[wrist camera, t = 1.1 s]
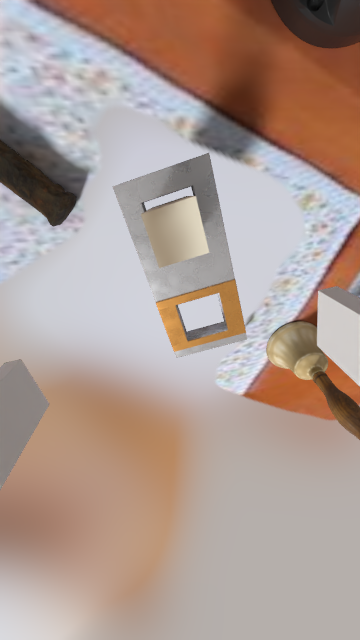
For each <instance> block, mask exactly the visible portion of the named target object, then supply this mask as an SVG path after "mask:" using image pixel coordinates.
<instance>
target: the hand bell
mask: <svg viewBox="0 0 360 640" xmlns="http://www.w3.org/2000/svg"><path fill="white" fill-rule="evenodd" d="M266 352H267V356H268V358H269V360H270V361H271V362H272V363H273V364H274V365H276V366H278V367H281V368H286V369H290V370H292V371H293V372H294V373H295V375H296V376H297V377H299V378H301V379H305V380H311V379H313V381H314V382H315V383H316V384H317V386H318V387H319V388H320V389H321V390H322V392H323V393H324V395H325V397H326V399H327V403H328V405H329V407H330V409H331V411H332V413H333V415H334V416H335V418H336V419H337V420H338V421H339V423H340V424H341V425H342V426H343V427H344V428H345V429H346V430H348V431H349V432H350V433H352V434H353V435H355V436H356V437H357V438H358V439H359V440H360V407H359V406H358V405H357V403H356V402H355V401H353V400H352V399H351V398H350V397H349V396H348V395H346V394H345V393H343V392H342V391H340V390H339V389H338V388H337V387H336V386H335V385H334V384H333V383H332V381H331V380H330V379H329V377H328V376H327V374H326V373H325V371H326V369H327V366H328V360H327V358H326V356H325V355H324V353H323V352H322V350H321V349H320V348H319V347H318V346H317V327H316V326H315V325H313V324H311V323H308V322H303V321H299V322H293V323H289V324H286V325H284V326H282V327H281V328H279V329H278V330H277V331H276V332H275V333H274V334H273V335H272V336H271V337H270V339H269V341H268V344H267V348H266Z"/></svg>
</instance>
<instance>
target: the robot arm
mask: <svg viewBox="0 0 360 640" xmlns="http://www.w3.org/2000/svg"><path fill="white" fill-rule="evenodd" d="M271 1H272V3H273V6H274V8H275V10H276V11H277V13H278V15H279V17H280V18H281V20H282V21H283V22H284V24H285V25H286V26H287V27H288V28H289V30H290V31H291V32H292V33H294V34H295V35H296V36H297V37H299V38H300V39H301V40H303V41H305V42H307V43H309V44H311V45H314V46H317V47H322V48H340V47H346V46H349V45H353V44H355V43H358V42H360V0H271ZM317 346H318V347H319V348H320V349H321V350H322V351H323V352H324V353H325V354H326V355H327V356H328V357H330V358H331V359H332V360H333V361H334V362H335V363H336V364H337V365H338V366H339V367H340V368H341V369H342V370H343V371H344V372H345V373H346V374H347V375H348V376H349V377H350V378H352V379H353V380H354V381H355V382H356V383H357V384H358V385H359V386H360V298H359V297H357V296H355V295H353V294H351V293H349V292H347V291H345V290H343V289H341V288H339V287H337V286H336V287H332V288H327V289H323V290H319V291H318V321H317ZM48 406H49V403H48V401H47V399H46V398H45V396H44V395H43V393H42V391H41V390H40V388H39V387H38V385H37V384H36V382H35V380H34V379H33V377H32V376H31V374H30V373H29V371H28V369H27V368H26V366H25V365H24V363H23V362H22V360H21V359H19V360H15V361H11V362H6V363H4V364H3V365H2V366H1V367H0V489H1V488H2V486H3V484H4V482H5V481H6V479H7V477H8V476H9V474H10V472H11V470H12V469H13V467H14V465H15V463H16V461H17V460H18V458H19V456H20V454H21V453H22V451H23V449H24V448H25V446H26V444H27V442H28V441H29V439H30V437H31V435H32V433H33V432H34V430H35V428H36V427H37V425H38V423H39V421H40V419H41V418H42V416H43V414H44V413H45V411H46V409H47V408H48Z"/></svg>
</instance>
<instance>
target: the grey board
mask: <svg viewBox="0 0 360 640" xmlns="http://www.w3.org/2000/svg"><path fill="white" fill-rule="evenodd" d="M190 186H191V187H192V191H193V195H194V196H196V199H197V203H198V207H199V212H200V216H201V220H202V224H203V228H204V232H205V236H206V241H207V245H208V249H209V253H207V254H204V255H200V256H197V257H194V258H191V259H187V260H184V261H181V262H178V263H174V264H171V265H168V266H165V267H161V268H159V266H158V263H157V260H156V257H155V254H154V251H153V249H152V246H151V243H150V240H149V237H148V234H147V231H146V228H145V225H144V222H143V219H142V217H141V214H142V213H144V212H146V208H145V205H144V202H146V201H149V200H152V199H155V198H158V197H161V196H164V195H167V194H170V193H173V192H176V191H178V190H182V189H184V188H188V187H190ZM113 189H114V192H115V194H116V197H117V200H118V202H119V205H120V207H121V210H122V213H123V216H124V218H125V221H126V223H127V226H128V229H129V232H130V234H131V237H132V240H133V242H134V245H135V248H136V250H137V253H138V256H139V258H140V261H141V264H142V266H143V269H144V272H145V274H146V277H147V280H148V282H149V285H150V288H151V290H152V293H153V296H154V298H155V301H156V305H157V307H158V310H159V313H160V315H161V318H162V321H163V323H164V326H165V329H166V331H167V334H168V337H169V339H170V342H171V345H172V347H173V350H174V352H175V355H176V357H177V358H178V357H182V356H186V355H189V354H193V353H197V352H201V351H204V350H208V349H212V348H216V347H220V346H223V345H227V344H231V343H235V342H238V341H242V340H246V339H247V337H246V330H245V325H244V321H243V316H242V311H241V306H240V301H239V296H238V292H237V286H236V281H235V278H234V273H233V268H232V263H231V258H230V254H229V248H228V243H227V239H226V234H225V229H224V224H223V220H222V214H221V209H220V204H219V199H218V194H217V190H216V185H215V180H214V175H213V170H212V165H211V160H210V155H209V153H207V154H204V155H202V156H199V157H196V158H193V159H190V160H187V161H184V162H182V163H179V164H176V165H173V166H170V167H168V168H165V169H162V170H159V171H156V172H153V173H150V174H147V175H145V176H142V177H139V178H136V179H133V180H130V181H127V182H125V183H122V184H119V185H116V186H113ZM216 293H218V298H219V301H220V306H221V310H222V314H223V318H224V322H221V323H217V324H214V325H210V326H206V327H203V328H199V329H195V330H192V331H188V332H186V329H185V326H184V323H183V320H182V317H181V314H180V311H179V308H178V304H181V303H185V302H188V301H192V300H195V299H199V298H202V297H205V296H209V295H213V294H216Z"/></svg>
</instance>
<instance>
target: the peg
mask: <svg viewBox="0 0 360 640" xmlns="http://www.w3.org/2000/svg"><path fill="white" fill-rule="evenodd" d="M141 217H142V219H143V222H144V225H145V228H146V231H147V234H148V237H149V240H150V243H151V246H152V249H153V251H154V254H155V257H156V260H157V263H158V266H159V268H161V267H165V266H168V265H171V264H174V263H178V262H181V261H184V260H187V259H191V258H194V257H197V256H200V255H204V254H207V253H209V249H208V245H207V241H206V236H205V232H204V228H203V224H202V220H201V216H200V212H199V207H198V203H197V199H196V196H186V197H183V198H180V199H177V200H174V201H171V202H168V203H165V204H162V205H159V206H156V207H153V208H151V209H149V210H148V211H146V212H144V213H142V214H141Z"/></svg>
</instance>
